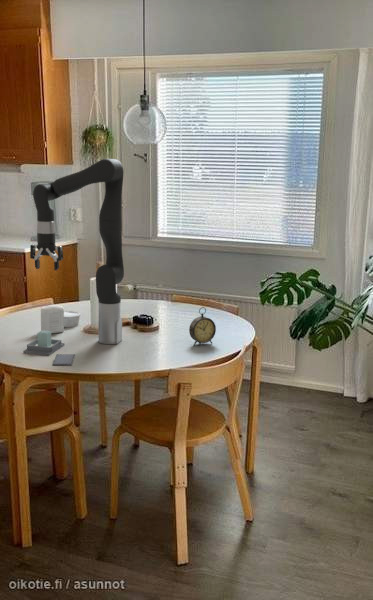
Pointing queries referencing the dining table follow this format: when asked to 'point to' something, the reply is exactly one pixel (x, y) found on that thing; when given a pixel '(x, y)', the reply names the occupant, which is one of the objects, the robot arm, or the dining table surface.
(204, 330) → the alarm clock
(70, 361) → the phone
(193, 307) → the dining table surface
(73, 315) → the ramekin
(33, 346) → the grey shallow rectangular tray
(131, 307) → the dining table surface
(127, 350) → the dining table surface
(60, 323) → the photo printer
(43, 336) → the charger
